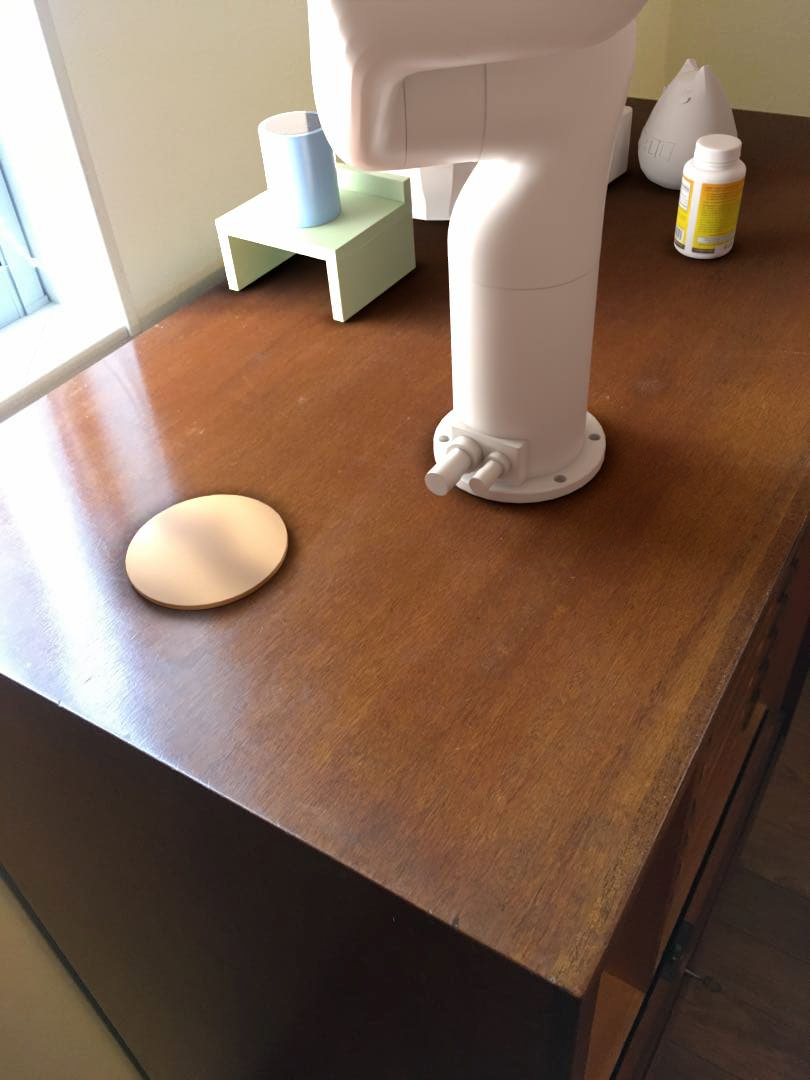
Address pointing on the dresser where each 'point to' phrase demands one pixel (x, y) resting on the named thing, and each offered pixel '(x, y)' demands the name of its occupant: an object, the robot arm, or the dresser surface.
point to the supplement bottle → (710, 198)
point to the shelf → (330, 239)
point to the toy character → (683, 123)
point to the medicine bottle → (621, 146)
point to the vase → (436, 188)
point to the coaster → (206, 552)
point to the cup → (299, 170)
